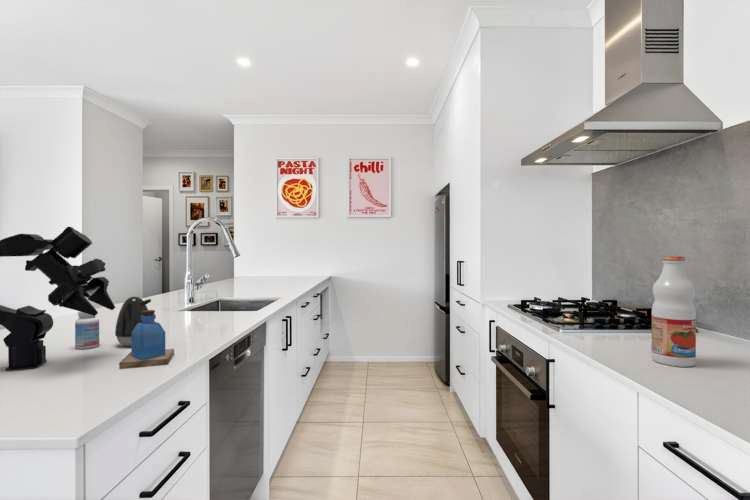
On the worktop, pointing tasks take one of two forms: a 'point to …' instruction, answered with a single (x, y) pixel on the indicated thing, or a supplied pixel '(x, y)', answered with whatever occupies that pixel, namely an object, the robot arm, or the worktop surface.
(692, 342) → the fruit juice
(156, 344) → the perfume bottle
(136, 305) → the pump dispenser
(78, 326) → the pill bottle
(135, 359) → the walnut block
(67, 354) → the worktop surface
